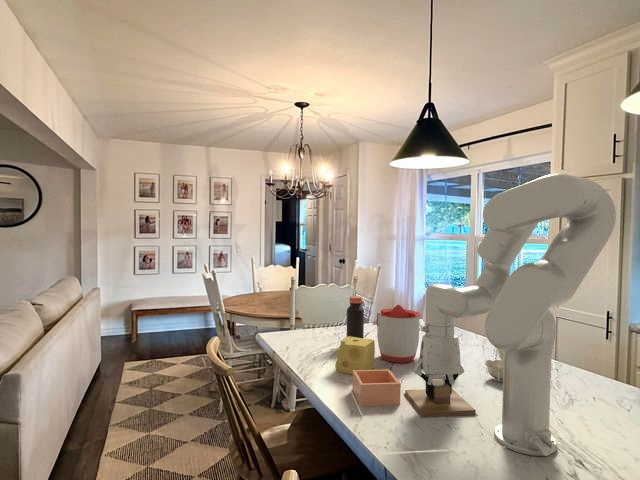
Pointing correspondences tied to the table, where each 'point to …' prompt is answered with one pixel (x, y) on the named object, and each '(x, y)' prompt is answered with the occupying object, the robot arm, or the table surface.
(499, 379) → the chinaware
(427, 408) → the lid
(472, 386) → the table surface
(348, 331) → the bottle
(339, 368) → the cheese
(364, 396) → the salmon orange open box
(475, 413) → the mat
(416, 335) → the citrus juicer
